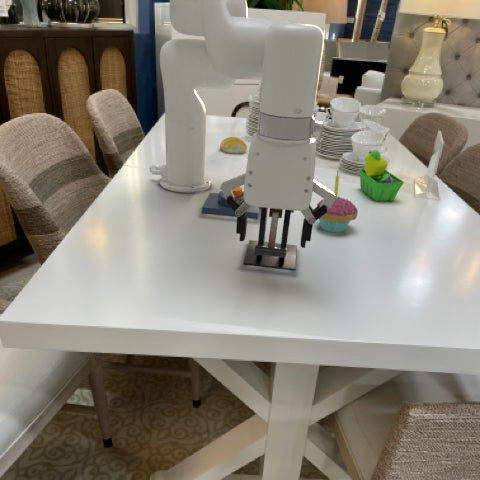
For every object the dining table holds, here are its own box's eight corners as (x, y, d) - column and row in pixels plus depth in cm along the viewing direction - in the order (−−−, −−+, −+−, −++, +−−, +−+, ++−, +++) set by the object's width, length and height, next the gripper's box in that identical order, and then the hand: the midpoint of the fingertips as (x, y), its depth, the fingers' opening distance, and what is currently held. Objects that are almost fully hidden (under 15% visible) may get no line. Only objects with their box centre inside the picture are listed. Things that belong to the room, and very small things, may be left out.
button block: (201, 216, 101) (202, 198, 99) (209, 201, 110) (210, 184, 107) (257, 223, 100) (258, 204, 98) (261, 207, 109) (262, 190, 107)
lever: (285, 261, 76) (286, 251, 74) (254, 258, 76) (254, 248, 74) (291, 207, 82) (292, 197, 80) (262, 204, 82) (263, 194, 80)
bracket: (294, 275, 82) (304, 209, 75) (243, 269, 82) (248, 203, 76) (295, 251, 90) (304, 190, 83) (249, 245, 90) (254, 184, 84)
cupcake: (305, 225, 101) (313, 169, 94) (338, 221, 104) (348, 167, 98) (326, 241, 95) (337, 182, 88) (361, 237, 98) (374, 179, 91)
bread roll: (241, 147, 155) (241, 134, 153) (249, 154, 148) (250, 140, 146) (216, 147, 153) (217, 134, 151) (223, 154, 146) (224, 140, 144)
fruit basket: (400, 202, 118) (412, 156, 112) (368, 202, 116) (378, 156, 110) (380, 187, 127) (390, 144, 121) (349, 188, 126) (358, 144, 119)
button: (224, 197, 102) (224, 189, 101) (226, 192, 105) (227, 184, 104) (240, 199, 101) (241, 191, 100) (242, 194, 104) (243, 186, 103)
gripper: (345, 128, 68) (326, 238, 78) (227, 117, 70) (222, 227, 79) (349, 138, 62) (327, 257, 71) (219, 127, 63) (215, 244, 73)
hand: (272, 241), depth 75 cm, fingers open, 9 cm apart
